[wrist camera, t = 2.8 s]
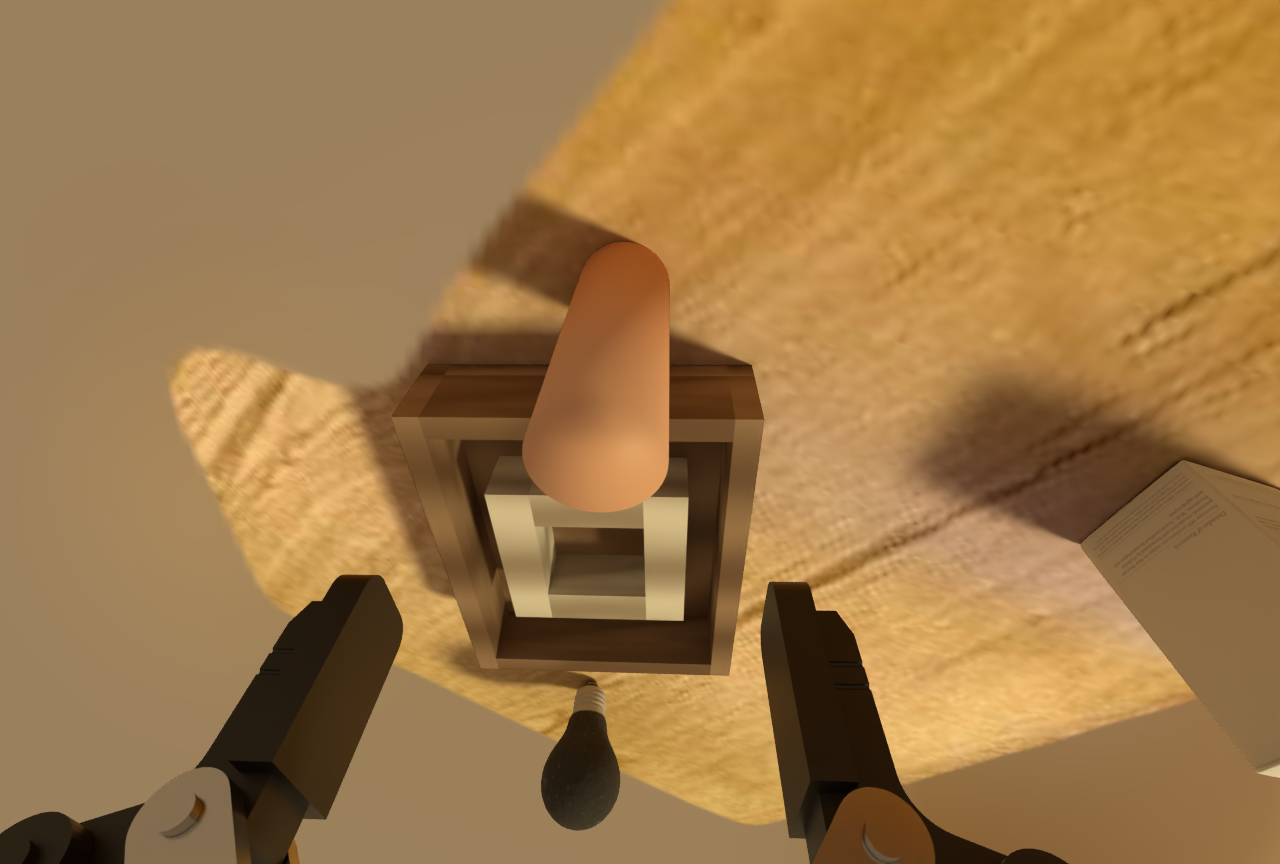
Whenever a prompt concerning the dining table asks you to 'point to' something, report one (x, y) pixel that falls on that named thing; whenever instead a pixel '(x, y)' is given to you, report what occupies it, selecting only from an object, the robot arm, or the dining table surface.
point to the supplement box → (1207, 593)
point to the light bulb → (582, 766)
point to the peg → (606, 387)
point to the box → (587, 526)
